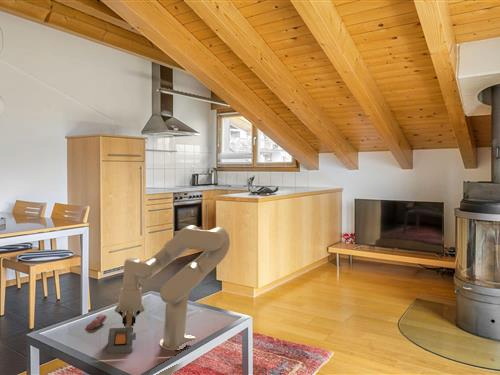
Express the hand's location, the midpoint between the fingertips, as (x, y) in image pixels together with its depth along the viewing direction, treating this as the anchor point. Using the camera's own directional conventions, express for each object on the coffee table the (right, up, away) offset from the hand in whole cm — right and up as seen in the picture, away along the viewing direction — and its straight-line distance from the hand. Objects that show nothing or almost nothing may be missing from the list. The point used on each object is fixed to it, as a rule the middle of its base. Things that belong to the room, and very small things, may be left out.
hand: (128, 324), depth 180 cm
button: (0, -4, -10) cm, 11 cm away
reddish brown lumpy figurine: (-18, -5, +9) cm, 21 cm away
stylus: (0, -6, 0) cm, 6 cm away
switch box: (-1, -7, -10) cm, 12 cm away
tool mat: (-1, -6, 0) cm, 6 cm away
